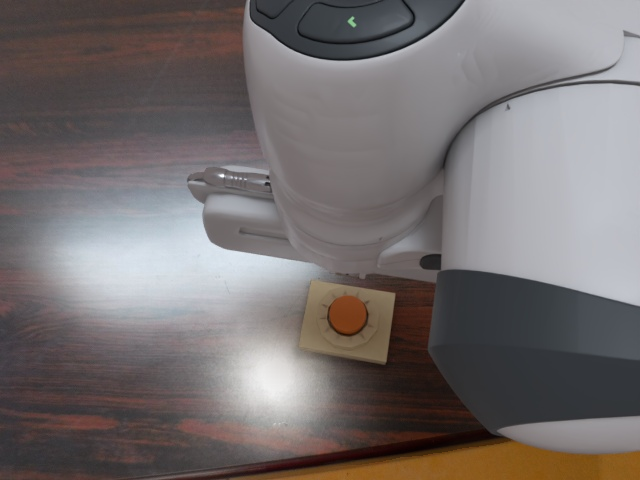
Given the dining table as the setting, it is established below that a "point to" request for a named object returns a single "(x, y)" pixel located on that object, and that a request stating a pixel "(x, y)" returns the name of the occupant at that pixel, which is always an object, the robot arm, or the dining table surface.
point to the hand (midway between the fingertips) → (349, 267)
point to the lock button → (347, 314)
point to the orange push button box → (358, 345)
